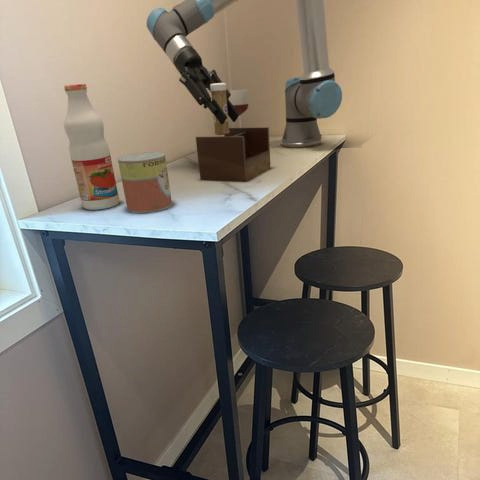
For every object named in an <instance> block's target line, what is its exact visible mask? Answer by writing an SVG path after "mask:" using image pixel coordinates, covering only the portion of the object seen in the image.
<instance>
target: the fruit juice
mask: <svg viewBox="0 0 480 480" xmlns="http://www.w3.org/2000/svg"><path fill="white" fill-rule="evenodd" d="M63 87H64V92H65V94H66V96H67V111H66V116H65V118H64V121H63V128H64V132H65V135H66V136H67V138H68V141H69V145H68V150H69V156H70V160H71V164H72V168H73V172H74V175H75V176H74V177H75V181H76V185H77V189H78V194H79V197H80V202H81V205H82V206H83V208H84V209H85V210H88V211H89V210H90V211H94V210H95V211H97V210H105V209H110V208H114V207H115V206H118V205H119V203H120V197H119V190H118V186H117V181H116V176H115V171H114V166H113V162H112V157H111V151H110V147H109V144H108V142H107V140H106V139H105V125H104V122H103V121H104V120H103V119H102V117H101V116H100V115H99V114H98V112H96V110H95V108H94V107H93V105H92V103H91V101H90V99H89V98H88V97H89V96H88V94H87V93H88V87H87V85H86V83H80V84H79V83H78V84H67V85H64V86H63Z"/></svg>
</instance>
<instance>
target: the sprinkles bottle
mask: <svg viewBox="0 0 480 480" xmlns="http://www.w3.org/2000/svg"><path fill="white" fill-rule="evenodd" d="M226 88H227V83H226V82H222V83H215V84H211V85H210V90H211V92H210V94H211V101H212V100H213V99H214V100H215V101H216V102H217V104H218V105H219V106H220V108H221V109H222V110H223V112H224V113H225V114H226V116H227V119H226V120H225V122H224V124H222V125H221V123H220V122H219V121H218V119H217V118H216V117H215V115H214V114H213V113H212V117H213V125H214V127H213V128H214V135H216V136H224V134H228V133H229V132H230V131H229V128H230V124H229V116H228V108H227V98H226V90H227V89H228V88H227V89H226Z"/></svg>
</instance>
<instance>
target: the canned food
mask: <svg viewBox="0 0 480 480" xmlns="http://www.w3.org/2000/svg"><path fill="white" fill-rule="evenodd" d="M117 163H118V168H119V173H120V178H121V182H122V189H123V193H124V199H125V203H126V210H127V211H128V212H130V213H134V214H147V213H154V212H155V213H156V212H160V211H163V210H166V209H169V208H171V207H172V206H173V200H172V194H171V187H170V180H169V175H168V167H167V160H166V153H165V152H163V151H146V152H145V151H143V152H136V153H131V154H125V155H122V156H120V157H118V158H117Z"/></svg>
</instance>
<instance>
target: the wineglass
mask: <svg viewBox="0 0 480 480" xmlns="http://www.w3.org/2000/svg"><path fill="white" fill-rule="evenodd" d="M228 91H229V92H230V94H231V95H230V97H229V101H230V102H231V103H232V105H233V106H234V108H235V110H236V111H237V112H238V114H239V116H238V123H239V125H238V126H239V128H242V114H244V113H245V112H247V110H248V109H249V103H250V89H249V88H247V89H245V88H244V89H233V90H228Z"/></svg>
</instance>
